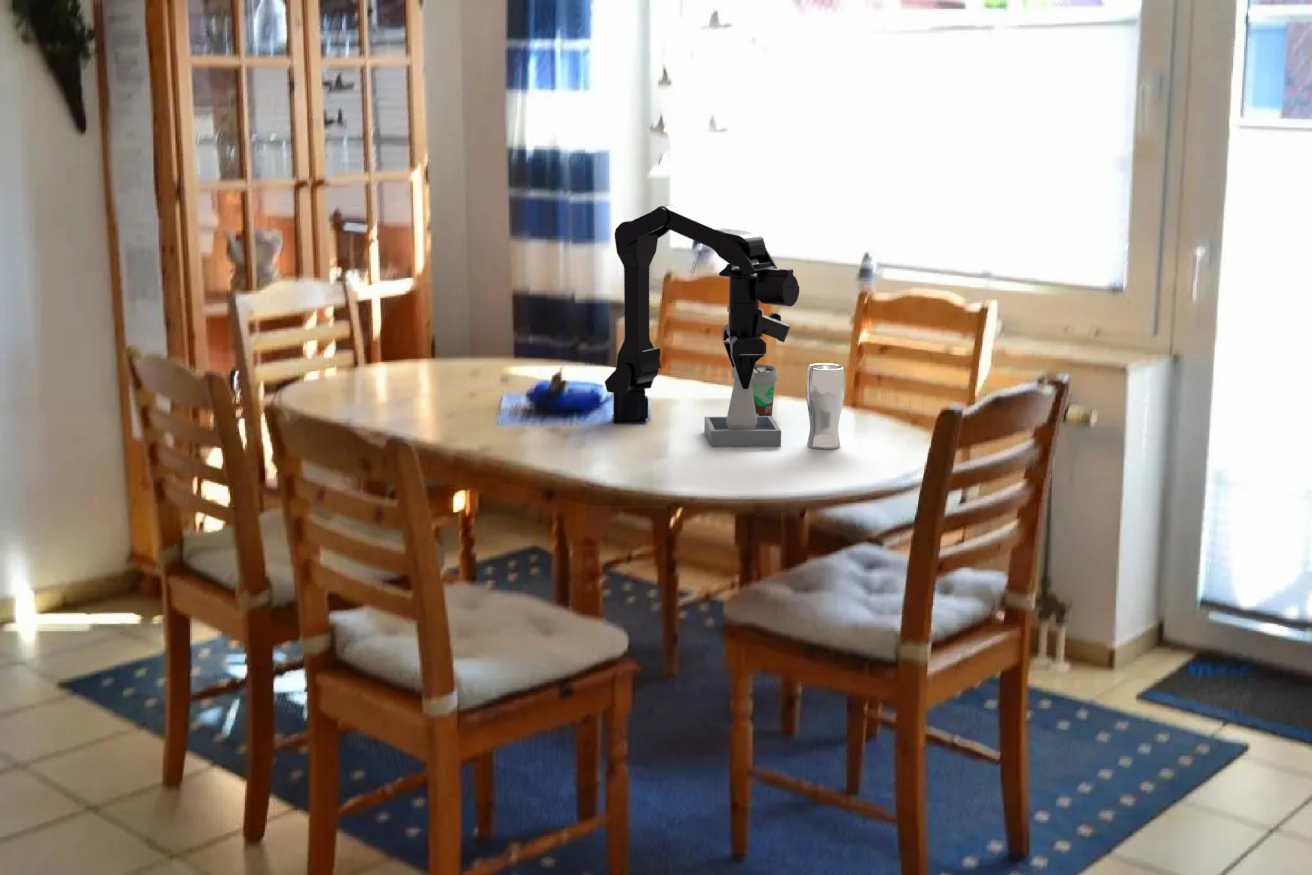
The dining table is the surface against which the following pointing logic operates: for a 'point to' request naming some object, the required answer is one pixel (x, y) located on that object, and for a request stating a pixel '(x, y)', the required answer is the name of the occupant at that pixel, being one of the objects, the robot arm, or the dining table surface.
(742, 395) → the salt shaker
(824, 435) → the beer glass
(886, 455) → the dining table surface
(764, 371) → the food container
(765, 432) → the bin
